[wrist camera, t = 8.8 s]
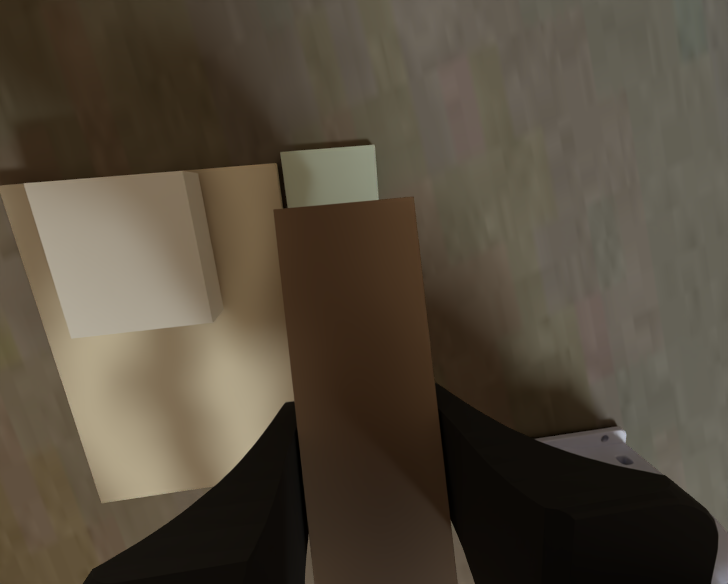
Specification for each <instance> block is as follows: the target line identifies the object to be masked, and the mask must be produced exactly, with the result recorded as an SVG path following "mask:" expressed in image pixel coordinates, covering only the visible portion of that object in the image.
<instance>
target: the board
mask: <svg viewBox="0 0 728 584" xmlns="http://www.w3.org/2000/svg"><path fill="white" fill-rule="evenodd" d="M184 171H188V172H194V173H198V176H199V181H200V186H201V192H202V197H203V202H204V207H205V213H206V218H207V223H208V228H209V234H210V239H211V244H212V249H213V255H214V260H215V265H216V270H217V276H218V281H219V286H220V291H221V297H222V302H223V307H224V310H223V311H222V312H221V314H220V315H219V316H218V317H217V318H216V320H215V321H214V322H213V323H206V324H197V325H188V326H179V327H170V328H161V329H153V330H144V331H135V332H126V333H117V334H109V335H100V336H91V337H82V338H73V339H71V336H70V333H69V330H68V327H67V323H66V320H65V317H64V314H63V310H62V307H61V304H60V301H59V297H58V294H57V291H56V288H55V284H54V281H53V278H52V275H51V271H50V268H49V265H48V262H47V258H46V255H45V252H44V249H43V245H42V242H41V239H40V236H39V232H38V229H37V226H36V223H35V219H34V216H33V213H32V210H31V206H30V203H29V200H28V197H27V193H26V190H25V187H24V184H12V185H0V194H1V197H2V200H3V203H4V206H5V209H6V212H7V215H8V218H9V221H10V224H11V227H12V231H13V234H14V237H15V240H16V243H17V246H18V249H19V252H20V255H21V258H22V261H23V264H24V267H25V270H26V273H27V276H28V279H29V283H30V286H31V289H32V292H33V295H34V298H35V301H36V304H37V307H38V310H39V313H40V316H41V319H42V322H43V325H44V328H45V332H46V335H47V338H48V341H49V344H50V347H51V350H52V353H53V356H54V359H55V362H56V365H57V368H58V371H59V374H60V377H61V380H62V384H63V387H64V390H65V393H66V396H67V399H68V402H69V405H70V408H71V411H72V414H73V417H74V420H75V423H76V426H77V429H78V432H79V436H80V439H81V442H82V445H83V448H84V451H85V454H86V457H87V460H88V463H89V466H90V469H91V472H92V475H93V478H94V481H95V484H96V488H97V491H98V494H99V497H100V500H101V503H105V502H112V501H119V500H125V499H132V498H139V497H146V496H152V495H159V494H166V493H172V492H179V491H186V490H192V489H199V488H206V487H212V486H215V485H216V484H217V483H219V482H220V481H221V480H222V479H223V478H224V477H225V476H226V475H227V474H228V473H229V472H230V471H231V470H232V469H233V468H234V467H235V466H236V465H237V464H238V463H239V462H240V461H241V459H242V458H243V457H244V456H245V455H246V454H247V452H248V451H249V450H250V449H251V448H252V447H253V445H254V444H255V443H256V442H257V440H258V439H259V438H260V436H261V435H262V434H263V432H264V431H265V430H266V428H267V427H268V426H269V424H270V423H271V422H272V420H273V419H274V417H275V416H276V414H277V413H278V411H279V410H280V409H281V407H282V406H283V405H284V403H285V402H291V401H294V393H293V384H292V375H291V366H290V357H289V348H288V339H287V330H286V321H285V312H284V303H283V294H282V285H281V276H280V267H279V257H278V248H277V239H276V230H275V221H274V212H273V209H283V202H282V195H281V188H280V181H279V173H278V166H277V164H276V163H271V164H258V165H246V166H234V167H221V168H209V169H197V170H184Z"/></svg>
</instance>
